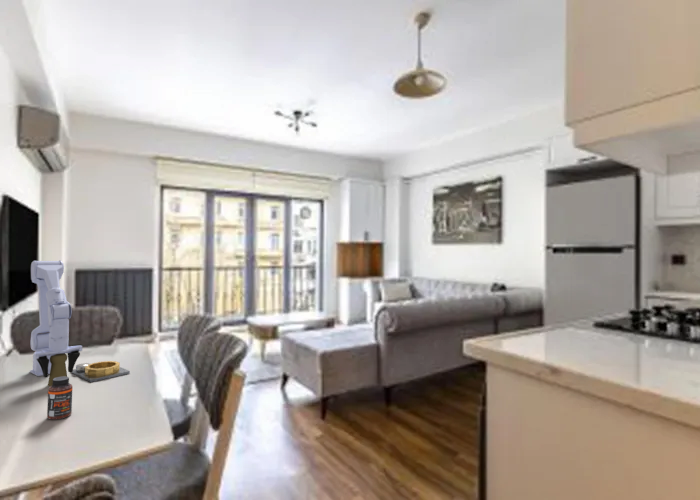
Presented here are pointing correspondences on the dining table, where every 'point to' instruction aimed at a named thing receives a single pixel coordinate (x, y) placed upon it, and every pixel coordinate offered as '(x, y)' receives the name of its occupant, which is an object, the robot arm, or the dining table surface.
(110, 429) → the dining table surface
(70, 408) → the supplement bottle
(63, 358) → the cork
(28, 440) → the dining table surface
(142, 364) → the dining table surface
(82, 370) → the flanged metal plate
